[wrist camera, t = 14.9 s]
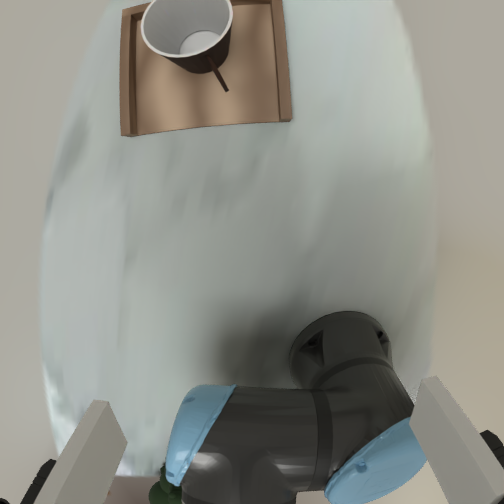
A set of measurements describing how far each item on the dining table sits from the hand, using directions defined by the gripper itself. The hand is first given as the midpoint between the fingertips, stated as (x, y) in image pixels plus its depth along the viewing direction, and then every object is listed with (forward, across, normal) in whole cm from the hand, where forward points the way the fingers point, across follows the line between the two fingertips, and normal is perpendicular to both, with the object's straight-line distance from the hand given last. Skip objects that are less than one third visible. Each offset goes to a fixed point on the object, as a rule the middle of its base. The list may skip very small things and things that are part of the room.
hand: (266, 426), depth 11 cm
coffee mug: (+27, +5, -24) cm, 37 cm away
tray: (+28, +5, -24) cm, 37 cm away
